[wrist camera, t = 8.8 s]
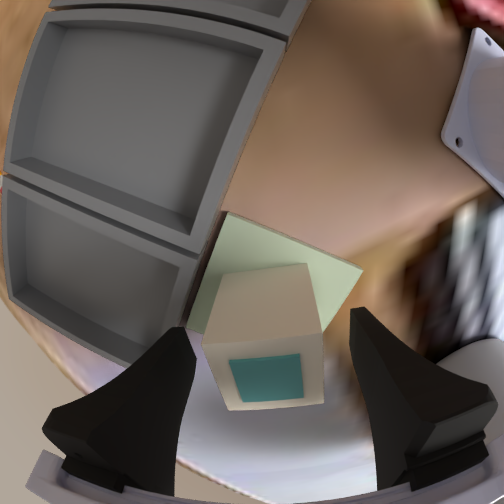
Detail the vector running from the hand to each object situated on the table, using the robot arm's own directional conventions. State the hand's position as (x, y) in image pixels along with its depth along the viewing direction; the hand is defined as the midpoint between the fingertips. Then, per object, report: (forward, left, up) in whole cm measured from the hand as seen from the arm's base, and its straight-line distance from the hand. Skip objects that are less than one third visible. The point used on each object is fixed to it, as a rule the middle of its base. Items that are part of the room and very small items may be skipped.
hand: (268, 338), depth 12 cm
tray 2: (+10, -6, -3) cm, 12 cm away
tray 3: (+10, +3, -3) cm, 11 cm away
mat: (0, 0, -3) cm, 3 cm away
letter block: (0, 0, -3) cm, 3 cm away
